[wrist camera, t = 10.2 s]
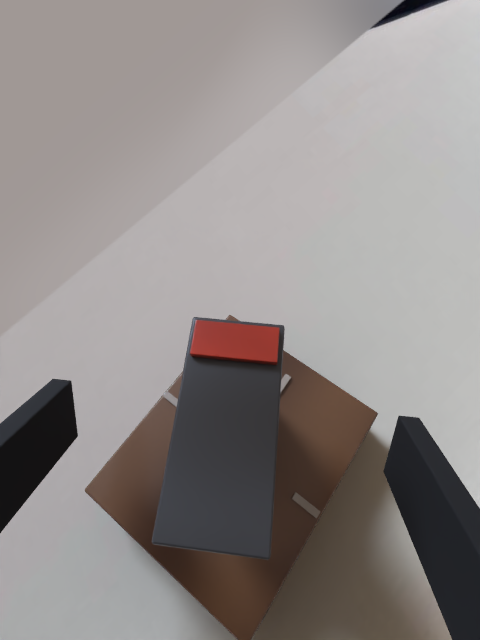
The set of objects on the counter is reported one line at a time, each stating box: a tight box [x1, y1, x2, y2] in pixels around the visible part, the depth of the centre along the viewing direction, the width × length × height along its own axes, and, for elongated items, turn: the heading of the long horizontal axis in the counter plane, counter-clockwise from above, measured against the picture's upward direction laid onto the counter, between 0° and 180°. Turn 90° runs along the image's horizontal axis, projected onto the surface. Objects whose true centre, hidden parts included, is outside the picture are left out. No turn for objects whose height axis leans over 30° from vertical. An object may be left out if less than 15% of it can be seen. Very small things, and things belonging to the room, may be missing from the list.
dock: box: [85, 315, 378, 640], centre depth 19 cm, size 10×12×3 cm
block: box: [152, 317, 284, 560], centre depth 13 cm, size 6×3×10 cm, turn 174°
